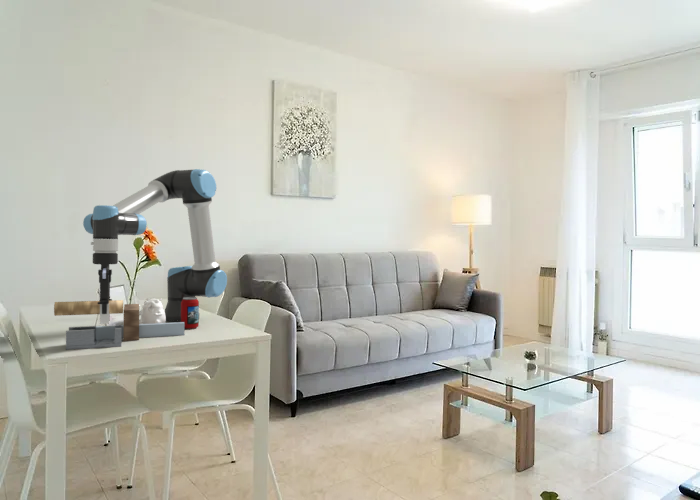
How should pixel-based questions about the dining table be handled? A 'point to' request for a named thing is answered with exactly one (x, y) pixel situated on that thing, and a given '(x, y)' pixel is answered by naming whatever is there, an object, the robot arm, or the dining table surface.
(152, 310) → the figurine
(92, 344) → the cradle
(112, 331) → the rail
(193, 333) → the dining table surface
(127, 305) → the brown wooden block
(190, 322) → the beverage can
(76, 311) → the dowel
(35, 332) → the dining table surface
